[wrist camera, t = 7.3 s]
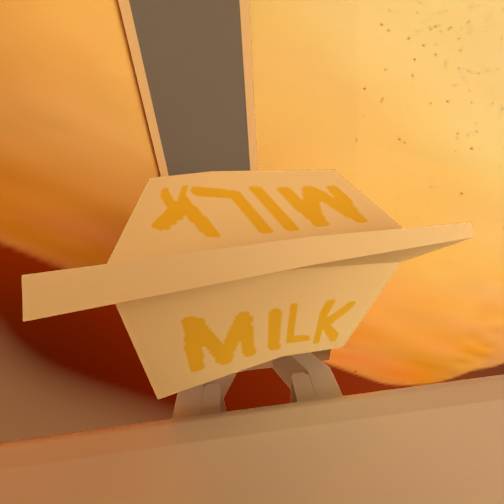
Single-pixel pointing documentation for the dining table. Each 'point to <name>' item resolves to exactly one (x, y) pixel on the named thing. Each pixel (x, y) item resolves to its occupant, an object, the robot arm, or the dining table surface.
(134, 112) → the dining table surface
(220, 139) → the strip
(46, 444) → the robot arm
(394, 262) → the milk carton
